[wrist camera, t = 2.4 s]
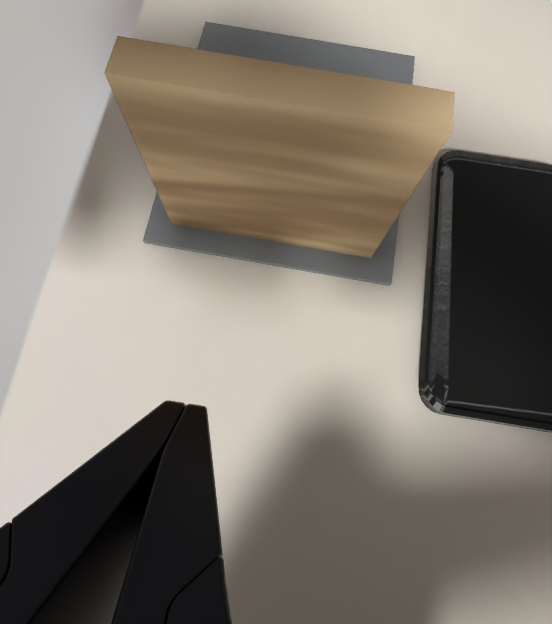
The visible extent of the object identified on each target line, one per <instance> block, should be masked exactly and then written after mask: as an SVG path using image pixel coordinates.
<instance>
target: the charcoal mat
mask: <svg viewBox="0 0 552 624" xmlns="http://www.w3.org/2000/svg"><path fill="white" fill-rule="evenodd" d="M198 50H204V51H211V52H217V53H223V54H229V55H235V56H241V57H247V58H253V59H259V60H265V61H271V62H277V63H283V64H289V65H295V66H301V67H307V68H313V69H319V70H325V71H331V72H337V73H343V74H349V75H355V76H361V77H367V78H373V79H379V80H385V81H391V82H397V83H403V84H409V85H412V78H413V69H414V59H415V56H409V55H403V54H397V53H391V52H385V51H379V50H373V49H367V48H361V47H355V46H348V45H342V44H336V43H330V42H324V41H318V40H312V39H306V38H300V37H294V36H288V35H282V34H276V33H270V32H264V31H258V30H252V29H246V28H239V27H233V26H227V25H221V24H215V23H209V22H205V26H204V29H203V33H202V36H201V40H200V43H199V47H198ZM397 223H398V216H397V218H396V219H395V221H394V223H393V224H392V226H391V227H390V229H389V230H388V232H387V233H386V235H385V237H384V238H383V240H382V241H381V243H380V244H379V246H378V248H377V249H376V251H375V252H374V254H373V255H372V257H371V258H367V257H361V256H355V255H350V254H344V253H338V252H332V251H326V250H321V249H315V248H309V247H303V246H298V245H292V244H286V243H280V242H274V241H269V240H263V239H257V238H251V237H246V236H240V235H234V234H228V233H223V232H217V231H211V230H205V229H199V228H194V227H188V226H182V225H176V224H171V221H170V219H169V217H168V215H167V212H166V210H165V208H164V206H163V203H162V201H161V199H160V197H159V194H158V192H157V193H156V197H155V200H154V204H153V207H152V211H151V214H150V218H149V221H148V225H147V228H146V232H145V235H144V239H143V241H144V243H148V244H154V245H160V246H166V247H171V248H177V249H183V250H189V251H194V252H200V253H206V254H212V255H217V256H223V257H229V258H235V259H240V260H246V261H252V262H258V263H263V264H269V265H275V266H281V267H286V268H292V269H298V270H303V271H309V272H315V273H321V274H326V275H332V276H338V277H344V278H349V279H355V280H361V281H367V282H372V283H378V284H384V285H390V284H391V281H392V272H393V262H394V252H395V243H396V233H397Z"/></svg>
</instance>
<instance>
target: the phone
mask: <svg viewBox="0 0 552 624" xmlns="http://www.w3.org/2000/svg"><path fill="white" fill-rule="evenodd" d="M419 395H420V397H421V400H422V402H423V403H424V404H425V405H426V407H427V408H429V409H430V410H431V411H433V412H436V413H439V414H443V415H449V416H455V417H461V418H467V419H473V420H479V421H485V422H491V423H497V424H503V425H509V426H515V427H521V428H527V429H533V430H539V431H545V432H552V165H548V164H542V163H535V162H529V161H522V160H516V159H509V158H503V157H496V156H490V155H483V154H477V153H470V152H464V151H449V152H446V153H445V154H443V155H442V156H441V158H440V159H439V161H438V162H437V164H436V165H435V167H434V170H433V177H432V192H431V208H430V223H429V238H428V253H427V268H426V283H425V298H424V313H423V328H422V343H421V359H420V374H419Z"/></svg>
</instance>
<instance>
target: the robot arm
mask: <svg viewBox="0 0 552 624" xmlns="http://www.w3.org/2000/svg"><path fill="white" fill-rule="evenodd" d="M222 555H223V553H222V544H221V535H220V525H219V516H218V507H217V497H216V488H215V479H214V470H213V460H212V451H211V442H210V432H209V423H208V414H207V408H206V407H205V406H201V405H194V404H188V405H185V404H184V403H182V402H175V401H165V402H163V403H162V404H161V405H159V406H158V407H157V408H155V409H154V410H153V411H151V412H150V413H149V414H148V415H146V416H145V417H144V418H142V419H141V420H140V421H138V422H137V423H136V424H135V425H133V426H132V427H131V428H129V429H128V430H127V431H126V432H124V433H123V434H122V435H120V436H119V437H118V438H116V439H115V440H114V441H113V442H111V443H110V444H109V445H107V446H106V447H105V448H103V449H102V450H101V451H100V452H98V453H97V454H96V455H94V456H93V457H92V458H91V459H89V460H88V461H87V462H85V463H84V464H83V465H81V466H80V467H79V468H78V469H76V470H75V471H74V472H72V473H71V474H70V475H69V476H67V477H66V478H65V479H63V480H62V481H61V482H59V483H58V484H57V485H56V486H54V487H53V488H52V489H50V490H49V491H48V492H46V493H45V494H44V495H43V496H41V497H40V498H39V499H37V500H36V501H35V502H34V503H32V504H31V505H30V506H28V507H27V508H26V509H24V510H23V511H22V512H21V513H19V514H18V515H17V516H15V517H14V518H13V519H12V524H11V523H10V522H8V523H6V524H5V525H3V526H2V527H1V528H0V624H232V621H231V615H230V608H229V601H228V594H227V587H226V579H225V570H224V561H223V558H222Z"/></svg>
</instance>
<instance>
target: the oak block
mask: <svg viewBox="0 0 552 624" xmlns="http://www.w3.org/2000/svg"><path fill="white" fill-rule="evenodd" d="M105 75H106V77H107V79H108V81H109V84H110V86H111V89H112V91H113V93H114V95H115V98H116V100H117V102H118V104H119V107H120V109H121V111H122V113H123V116H124V118H125V120H126V122H127V125H128V127H129V129H130V131H131V134H132V136H133V138H134V140H135V143H136V145H137V147H138V149H139V152H140V154H141V156H142V158H143V161H144V163H145V165H146V167H147V170H148V172H149V174H150V176H151V179H152V181H153V183H154V185H155V188H156V190H157V192H158V194H159V197H160V199H161V201H162V203H163V206H164V208H165V210H166V212H167V215H168V217H169V219H170V221H171V224H176V225H182V226H188V227H194V228H199V229H205V230H211V231H217V232H223V233H228V234H234V235H240V236H246V237H251V238H257V239H263V240H269V241H274V242H280V243H286V244H292V245H298V246H303V247H309V248H315V249H321V250H326V251H332V252H338V253H344V254H350V255H355V256H361V257H367V258H371V257H372V255H373V254H374V252H375V251H376V249H377V248H378V246H379V244H380V243H381V241H382V240H383V238H384V237H385V235H386V233H387V232H388V230H389V229H390V227H391V226H392V224H393V223H394V221H395V219H396V218H397V216H398V215H399V213H400V212H401V210H402V208H403V207H404V205H405V204H406V202H407V201H408V199H409V197H410V196H411V194H412V193H413V191H414V190H415V188H416V186H417V185H418V183H419V182H420V180H421V179H422V177H423V176H424V174H425V172H426V171H427V169H428V168H429V166H430V165H431V163H432V161H433V160H434V158H435V157H436V155H437V154H438V152H439V150H440V149H441V147H442V146H443V144H444V143H445V141H446V139H447V138H448V136H449V135H450V133H451V132H452V122H453V107H454V93H455V92H451V91H445V90H439V89H433V88H427V87H421V86H415V85H409V84H403V83H397V82H391V81H385V80H379V79H373V78H367V77H361V76H355V75H349V74H343V73H337V72H331V71H325V70H319V69H313V68H307V67H301V66H295V65H289V64H283V63H277V62H271V61H265V60H259V59H253V58H247V57H241V56H235V55H229V54H223V53H217V52H211V51H204V50H198V49H192V48H186V47H180V46H174V45H168V44H162V43H156V42H150V41H144V40H138V39H132V38H126V37H120V36H117V39H116V42H115V45H114V47H113V50H112V53H111V56H110V59H109V61H108V64H107V67H106V70H105Z"/></svg>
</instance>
